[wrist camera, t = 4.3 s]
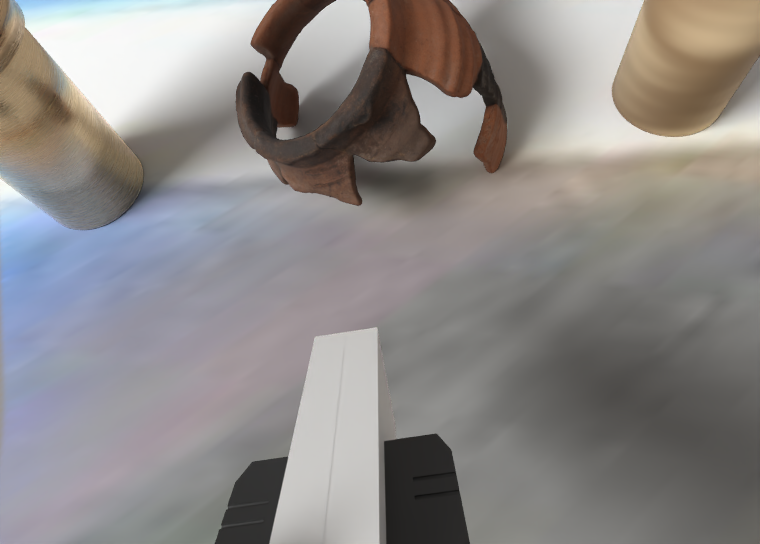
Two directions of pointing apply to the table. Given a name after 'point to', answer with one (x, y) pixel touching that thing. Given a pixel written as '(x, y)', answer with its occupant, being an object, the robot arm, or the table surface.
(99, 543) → the table surface
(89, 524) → the table surface
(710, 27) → the oak collar post
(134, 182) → the aperture bracket
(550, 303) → the table surface
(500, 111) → the broken brown pot
